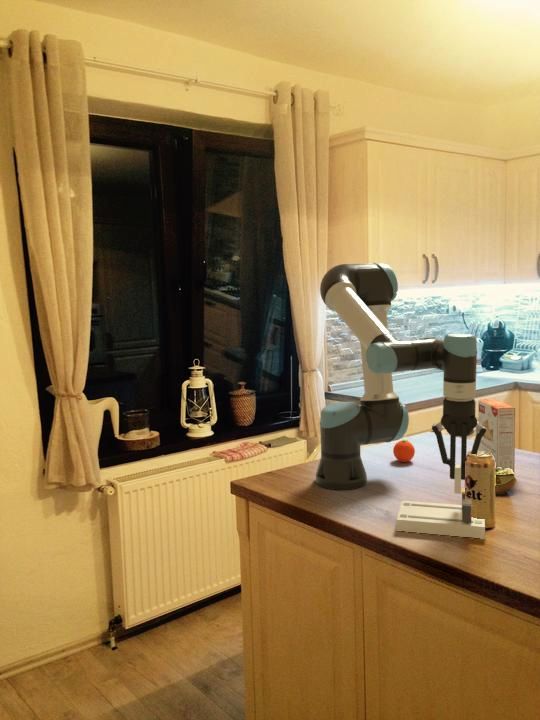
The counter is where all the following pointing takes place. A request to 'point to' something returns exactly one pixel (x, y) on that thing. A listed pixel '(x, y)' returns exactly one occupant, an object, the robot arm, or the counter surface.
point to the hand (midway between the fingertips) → (457, 491)
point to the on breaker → (466, 510)
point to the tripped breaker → (463, 493)
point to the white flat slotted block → (437, 520)
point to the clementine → (404, 450)
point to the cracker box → (498, 431)
